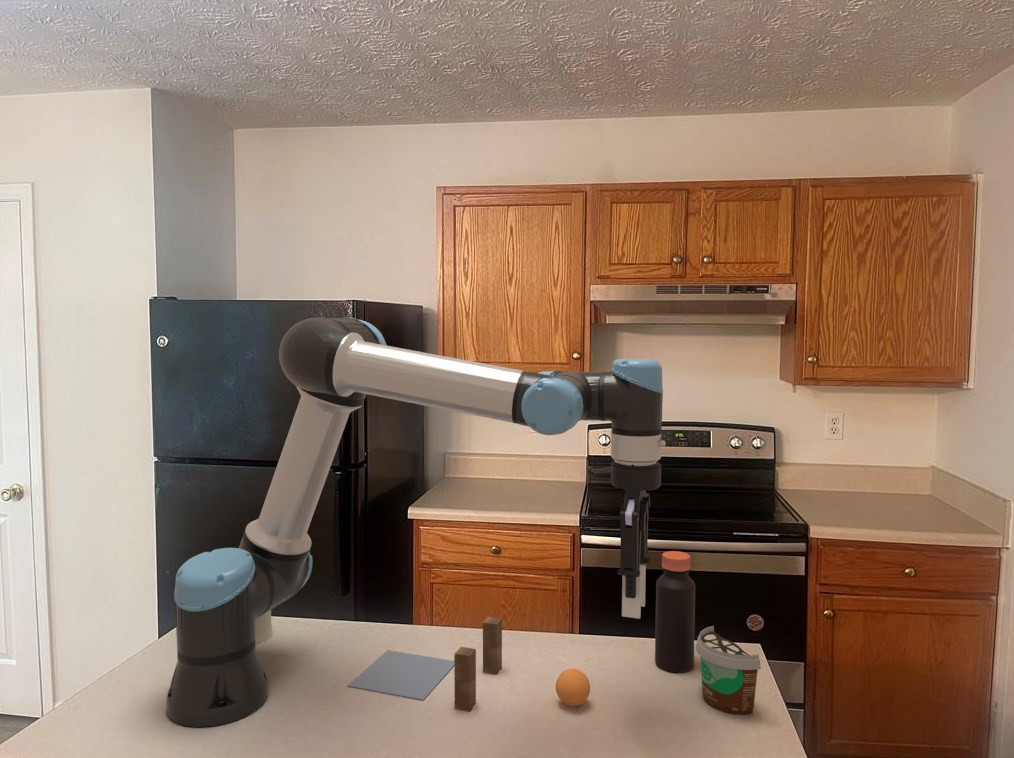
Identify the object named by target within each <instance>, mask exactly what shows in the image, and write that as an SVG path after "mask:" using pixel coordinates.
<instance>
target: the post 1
mask: <svg viewBox="0 0 1014 758" xmlns="http://www.w3.org/2000/svg"><path fill="white" fill-rule="evenodd" d="M453 661H454V667H453V668H454V671H453V673H454V709H455V710H458V711H465V712H469V713H470V712H471V711H472V710H473V709H474V707H475V705H476V704H477V694H476V693H477V649H476V648H471V647H464V646H460V647H459V648H458V649H457V651H455V652H454V660H453Z"/></svg>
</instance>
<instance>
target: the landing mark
mask: <svg viewBox="0 0 1014 758" xmlns="http://www.w3.org/2000/svg"><path fill="white" fill-rule="evenodd" d="M453 668H454V660H451V659H444V658H439V657H432V656H425V655H421V654H415V653H408V652H402V651H396V650H390V649H389V650H388V649H387V650H386V651H385V652H383V653H382V654H381V655H380V656H379V657H378V658H377V659H376V660H374V662H372V663H371V664H370V665H368V667H367V668H365V669H364V671H362V672H361V673H360V674H359V675H358V676H357V677H355V679H353V680H352V681H351V682H349V684H348V685H347V687H348V688H353V689H357V690H358V689H360V690H364V691H369V692H374V693H379V694H386V695H390V696H396V697H401V698H406V699H410V700H411V699H412V700H417V701H422V702H423V701H425V700H426V698H427V697H429V695H430V694H431V693H432V692H433V690H435V689H436V687H437V686H438V685H439V684H440V682H441V681H442V680H444V678H445V677H446V676H447V675H448V674H449V672H450V671H451V670H452V669H453Z"/></svg>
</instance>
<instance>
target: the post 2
mask: <svg viewBox="0 0 1014 758" xmlns="http://www.w3.org/2000/svg"><path fill="white" fill-rule="evenodd" d="M502 648H503V619H502V618H500V617H493V616H492V617H491V616H487V618H485V620H484V621H483V622H482V673H483V674H490V675H494V676H495V675H496V676H497V675H498V674H499V672H500V671H502V670H501V669H502V668H503V649H502Z"/></svg>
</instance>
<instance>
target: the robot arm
mask: <svg viewBox="0 0 1014 758" xmlns="http://www.w3.org/2000/svg"><path fill="white" fill-rule="evenodd" d="M278 359H279V364H280V367H281V370H282V372H283V373H284V376H286V378H287V380H289V381H290V382H291V383H292V384H293V385H295V387H296V389H297V390H298V393H299V395H300V398H299V401H298V405H297V407H296V410H295V413H294V416H293V419H292V423H291V425H290V427H289V430H288V433H287V437H286V438H285V441H284V445H283V448H282V451H281V453H280V456H279V459H278V462H277V465H276V467H275V471H274V474H273V477H272V480H271V482H270V486H269V488H268V490H267V494H266V496H265V499H264V503H263V506H262V508H261V511H260V514H259V517H258V518H257V519H255V520H252V521H250V522H249V523H248V524H247V525H246V527H245V530H244V532H243V535H242V537H241V541H240V544H239V547H238V548H237V547H223V548H216V549H213V550H212V551H204V552H202V553H199V554H196V555H194V556H193V557H190V558H189V559H187V560H186V561H185V562H184V563H183V564H182V565H181V566H180V567H179V569H178V570H177V573H176V575H175V588H174V592H173V599H174V603H175V604H174V605H175V607H174V609H175V630H176V631H175V632H176V651H177V652H176V653H177V655H176V656H177V662H176V665H175V668H174V671H173V675H172V678H171V682H170V687H169V689H168V692H167V695H166V700H165V701H166V714H167V717H168V718H169V719H170V720H171V721H172V722H174V723H176V724H178V725H182V726H187V727H195V728H196V727H197V728H199V727H201V728H202V727H211V726H213V727H214V726H219V725H224V724H229V723H231V722H234V721H237V720H240V719H242V718H244V717H246V716H249V715H250V714H252V713H254V712H256V711H257V710H258V709H259V708H261V707H262V706H263V704H264V703H265V702H266V701H267V700H268V695H269V681H268V680H269V679H268V676H267V674H266V673H265V671H264V669H263V667H262V666H263V665H262V663H261V659H260V656H259V655H258V654H259V653H258V651H257V645H256V641H255V620H256V619H257V618H259V617H261V616H262V615H263V614H265V613H266V612H268V611H270V610H271V611H272V610H273V609H274V608H276V607H277V606H279V605H281V604H282V603H285V602H286V601H288V600H290V599H291V598H293V597H294V596H295V595H296V594H297V593H298V592H299V591H300V590H301V589H302V588H303V587H304V586H305V585H306V583H307V581H308V580H309V579H310V576H311V574H312V570H313V555H311V552H310V551H311V547H312V539H311V537H310V535H309V534H308V530H309V528H310V524H311V521H312V520H313V519H312V518H313V516H314V513H315V511H316V507H317V505H318V503H319V500H320V497H321V494H322V491H323V489H324V486H325V483H326V480H327V478H328V475H329V472H330V469H331V466H332V464H333V460H334V458H335V455H336V453H337V449H338V446H339V445H340V441H341V439H342V436H343V432H344V430H345V428H346V425H347V423H348V419H349V416H350V414H351V413H352V412H354V411H356V410H358V409H361V408H362V407H363V405H364V401H365V399H366V397H367V395H370V396H375V397H378V398H379V397H380V398H385V399H390V400H393V401H394V400H395V401H400V402H406V403H411V404H416V405H421V406H426V407H430V408H436V409H439V410H441V409H442V410H446V411H451V412H456V413H461V414H466V415H471V416H477V417H482V418H487V419H490V420H496V421H502V422H508V423H513V424H516V425H520V426H524V427H529V428H530V429H532V430H533V432H536V433H538V434H540V435H543V436H555V435H557V436H558V435H562V434H564V433H566V432H568V431H570V430H571V429H573V428H574V427H575V426H576V425H577V423H578V422H579V421H594V422H596V421H598V422H599V421H601V422H610V423H611V431H610V439H611V440H610V457H611V458H612V459H613V461H612V462H611V463H610V484H611V485H612V486H613V487H615V488H616V489H618V490H619V489H622V490H624V495H623V498H621V499H620V506H619V507H620V512H619V519H620V522H619V523H620V550H619V551H620V558H619V561H620V565H619V567H620V569H618V570H617V575H618V576H622V577H621V578H622V579H621V580H622V582H621V583H622V585H621V586H622V587H621V594H622V595H621V617H625V618H631V619H638V620H640V619H641V613H642V612H641V611H642V610H641V609H642V607H643V608H645V606H646V581H647V580H646V575H647V573H646V570H647V569H646V568H647V565H646V564H649V565H650V564H651V560H652V559H651V557H647V556H648V554H649V550H648V545H649V544H648V543H649V542H648V541H649V539H648V538H649V532H648V531H649V516H650V515H649V509H650V506H651V496H650V494H649V493H647V491H654V490H657V489H658V488H660V487H661V485H662V465H661V463H660V462H659V460H660V459H661V458H662V448H664V447H665V446H666V441H665V440H663V439H661V438H662V429H663V428H662V426H663V402H664V401H663V397H664V396H663V395H664V390H663V367H662V365H661V363H660V362H659V361H657V360H654V359H645V358H629V359H628V358H625V359H624V358H620V359H615V360H614V361H613V362H612V366H611V369H610V371H602V372H600V371H599V372H597V371H596V372H595V371H594V372H593V371H570V370H569V371H567V370H564V371H563V370H551V371H550V370H549V371H539V372H534V371H525V370H521V369H516V368H511V367H505V366H499V365H495V364H494V365H493V364H487V363H483V362H477V361H472V360H467V359H462V358H457V357H451V356H444V355H441V354H439V355H438V354H434V353H429V352H423V351H419V350H413V349H412V350H411V349H408V348H400V347H396V346H391V345H387V343H386V339H385V338H384V336H383V334H382V332H381V331H380V330H379V329H378V328H377V327H376V326H374V325H373V324H372V323H370V322H367V321H365V320H362V319H357V318H355V317H347V316H346V317H345V316H344V317H329V318H328V317H310V318H306V319H303V320H301V321H298V322H297V323H295V324H294V325H292V327H290V328H289V329H288V330H287V332H286V333H284V336H283V337H282V340H281V341H280V345H279V350H278Z"/></svg>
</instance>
